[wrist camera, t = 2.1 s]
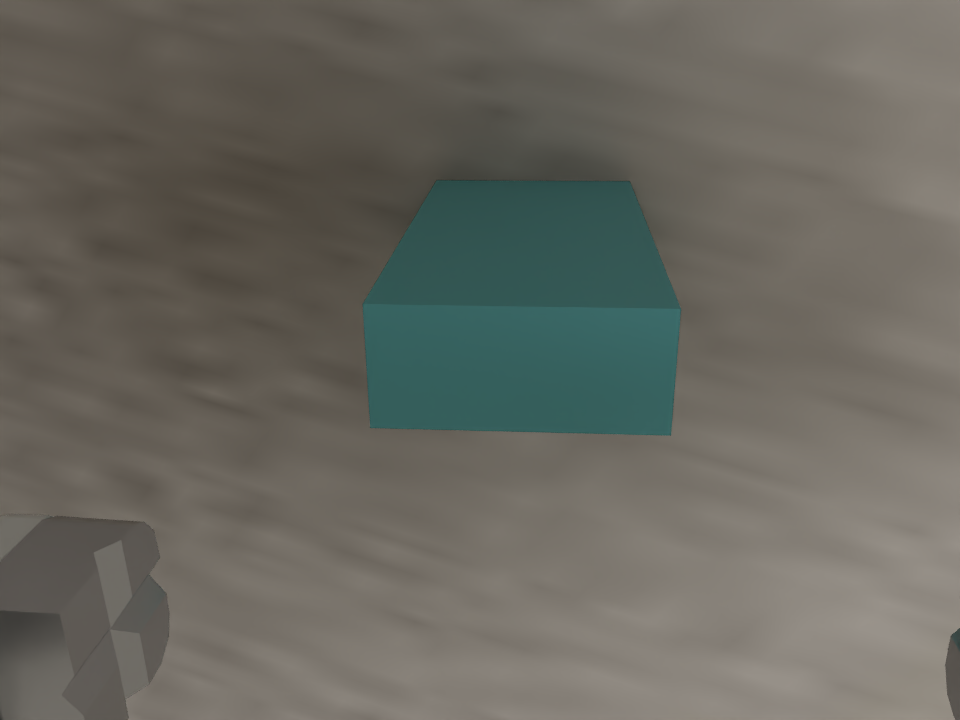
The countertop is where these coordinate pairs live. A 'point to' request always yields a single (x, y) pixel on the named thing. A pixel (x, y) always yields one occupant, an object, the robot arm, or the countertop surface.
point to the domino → (524, 314)
